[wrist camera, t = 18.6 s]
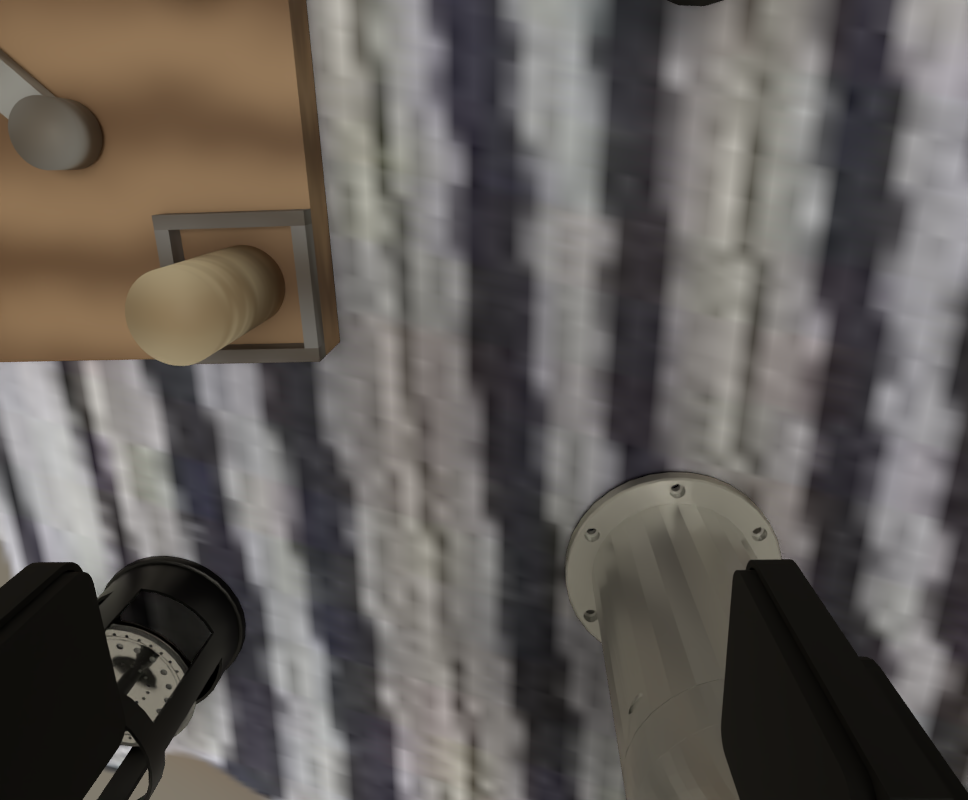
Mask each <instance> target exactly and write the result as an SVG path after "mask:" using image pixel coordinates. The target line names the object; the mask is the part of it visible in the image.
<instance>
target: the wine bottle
mask: <svg viewBox="0 0 968 800" xmlns="http://www.w3.org/2000/svg"><path fill="white" fill-rule="evenodd" d="M668 1H671V2H673V3H675V4H678V5H691V6H706V5H709V4H712V3H716V2H719V1H722V0H668Z"/></svg>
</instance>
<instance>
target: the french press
mask: <svg viewBox="0 0 968 800" xmlns="http://www.w3.org/2000/svg"><path fill="white" fill-rule="evenodd" d="M141 591H145V592H152V593H157V594H160V595H163V596H166V597H169V598H171V599H173V600H175V601H177V602H179V603H181V604H183V605H184V606H186V607H187V608H189V609H190V610H191V611H193V612H194V613H195V614H196V615H197V616H198V617H199V618H200V619H201V620H202V621H203V622H204V623H205V625H206V626H207V627H208V629H209V630H210V632H211V635H210V637H209V638H208V640H207V641H206V643H205V644H204V646H203V647H202V649H201V650H200V652H199V653H198V655H197V656H196V658H195V659H194V661H193V662H192V664H190V662H189V660H188V659H187V658H186V656H185V655H184V654H183V653H182V651H181V650H180V649H179V648H177V647H176V646H175V645H174V644H173V643H172V642H171V641H169V640H168V639H167V638H165V637H164V636H162V635H161V634H159V633H157V632H155V631H153V630H151V629H149V628H147V627H145V626H142V625H139V624H136V623H132V622H127V621H121V618H120V614H121V613H122V612H123V611H124V610H125V609H126V608H127V607H128V606H129V604H130V603H131V602H132V601H133V600H134V599H135V598H136V597H137V595H138V594H139V593H140V592H141ZM97 600H98V605H99V609H100V613H101V617H102V621H103V626H104V630H105V634H106V638H107V643H108V647H109V651H110V655H111V660H112V664H113V668H114V672H115V677H116V681H117V685H118V689H119V694H120V698H121V702H122V706H123V710H124V715H125V721H126V726H125V733H124V737H123V740H122V742H121V744H120V745H125V746H133V747H132V748H131V750H130V751H129V753H128V754H127V756H126V757H125V759H124V760H123V762H122V763H121V765H120V766H119V768H118V769H117V771H116V772H115V774H114V775H113V777H112V778H111V780H110V781H109V783H108V784H107V786H106V787H105V789H104V790H103V792H102V793H101V795H100V796H99V798H98V799H97V800H128V799H129V797H130V796H131V794H132V792H133V791H134V789H135V788H136V786H137V784H138V783H139V781H140V780H141V778H142V776H143V775H144V773H145V772H146V770H147V768H148V771H149V786H148V790H147V793H146V794H145V795H144V796H142V797H141V798H139V799H138V800H149V799H150V797H151V795H152V793H153V792H154V790H155V788H156V787H157V785H158V783H159V781H160V779H161V778H162V774H163V770H164V766H165V750H166V748H167V747H168V745H169V743H170V742H171V740H172V738H173V737H174V736H176V735H177V734H179V733H180V732H181V731H182V730H183V729H184V728H185V727H186V726H187V725H188V723H189V721H190V719H191V718H192V716H193V713H194V709H195V705H196V704H198V703H199V702H201V701H202V700H204V699H205V698H206V697H207V696H208V695H209V694H210V693H211V692H212V691H213V690H214V688H215V686H216V685H217V683H218V681H219V680H220V678H221V676H222V674H223V673H224V671H225V670H226V669H227V668H228V667H229V666H230V665H231V664H232V663H233V662H234V661H235V659H236V657H237V656H238V654H239V652H240V650H241V649H242V645H243V642H244V638H245V620H244V615H243V611H242V609H241V606H240V604H239V602H238V600H237V598H236V597H235V595H234V594H233V592H232V591H231V589H230V588H229V587H228V586H227V585H226V584H225V583H224V582H223V581H222V580H221V579H220V578H219V577H218V576H216V575H215V574H214V573H212V572H211V571H210V570H208V569H206V568H204V567H202V566H200V565H198V564H196V563H194V562H191V561H188V560H184V559H181V558H175V557H168V556H163V557H150V558H145V559H141V560H138V561H136V562H133V563H131V564H129V565H127V566H125V567H124V568H123V569H121V570H120V571H119V572H118V573H116V574H115V576H114V577H113V578H112V579H111V580H110V582H109V583H108V584H107V586H106V588H105V590H104V592H103V593H102V594H101V595H100V596H99V597H98V598H97Z"/></svg>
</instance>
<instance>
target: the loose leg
mask: <svg viewBox="0 0 968 800" xmlns="http://www.w3.org/2000/svg"><path fill="white" fill-rule="evenodd" d="M284 297H285V281H284V277H283V274H282V271H281V269H280V268H279V266H278V264H277V263H276V262H275V260H274V259H273V258H272V257H271V256H270V255H268V254H267V253H266V252H264V251H262V250H261V249H258V248H256V247H253V246H248V245H236V246H232V247H228V248H225V249H222V250H218V251H215V252H212V253H208V254H205V255H202V256H198V257H195V258H192V259H188V260H185V261H182V262H178V263H175V264H172V265H168V266H165V267H162V268H158V269H155V270H152V271H149V272H147V273H145V274H144V275H142V276H141V277H139V278H138V279H137V280H136V281H135V282H134V284H133V285H132V286H131V288H130V290H129V292H128V294H127V298H126V302H125V317H126V322H127V326H128V328H129V331H130V333H131V335H132V337H133V338H134V340H135V341H136V343H137V344H138V345H139V346H140V347H141V349H143V350H144V351H145V352H146V353H147V354H148V355H150V356H151V357H153V358H155V359H156V360H158V361H161V362H163V363H166V364H169V365H175V366H187V365H192V364H196V363H198V362H200V361H202V360H204V359H206V358H207V357H209V356H210V355H212V354H214V353H215V352H217V351H218V350H220V349H222V348H223V347H225V346H226V345H228V344H230V343H231V342H233V341H234V340H236V339H238V338H239V337H241V336H242V335H244V334H246V333H247V332H249V331H250V330H252V329H254V328H255V327H257V326H258V325H260V324H262V323H263V322H265V321H266V320H268V319H270V318H271V317H272V316H274V315H275V314H276V313H277V312H278V310H279V309H280V307H281V305H282V303H283V301H284Z"/></svg>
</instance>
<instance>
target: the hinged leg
mask: <svg viewBox="0 0 968 800" xmlns="http://www.w3.org/2000/svg"><path fill="white" fill-rule="evenodd" d="M0 113H1V114H2V115H4V116H5V117H6V118H7V119H8V132H9V136H10V140H11V142H12V145H13V146H14V148H15V150H16V151H17V153H18V154H19V155H20V156H21V157H22V158H23V159H24V160H25V161H26V162H27V163H29V164H30V165H32V166H34V167H36V168H39V169H42V170H79V169H84V168H86V167H88V166H90V165H91V164H93V163H94V162H95V161H96V159H97V158H98V156H99V154H100V152H101V148H102V133H101V129H100V126H99V123H98V121H97V120H96V118H95V116H94V115H93V114H92V113H91V111H90V110H89V109H88V108H86V107H85V106H84V105H82V104H81V103H79V102H77V101H74V100H71V99H65V98H58V97H55V96H54V95H53V94H52V93H51V92H49V91H48V90H47V89H46V88H45V87H44V86H43V85H41V84H40V83H39V82H38V81H37V80H36V79H34V78H33V77H32V76H31V75H30V74H29V73H27V72H26V71H25V70H24V69H23V68H22V67H20V66H19V65H18V64H17V63H16V62H15V61H13V60H12V59H11V58H10V57H9V56H8V55H7V54H5V53H4V52H3V51H2V50H1V49H0Z"/></svg>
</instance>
